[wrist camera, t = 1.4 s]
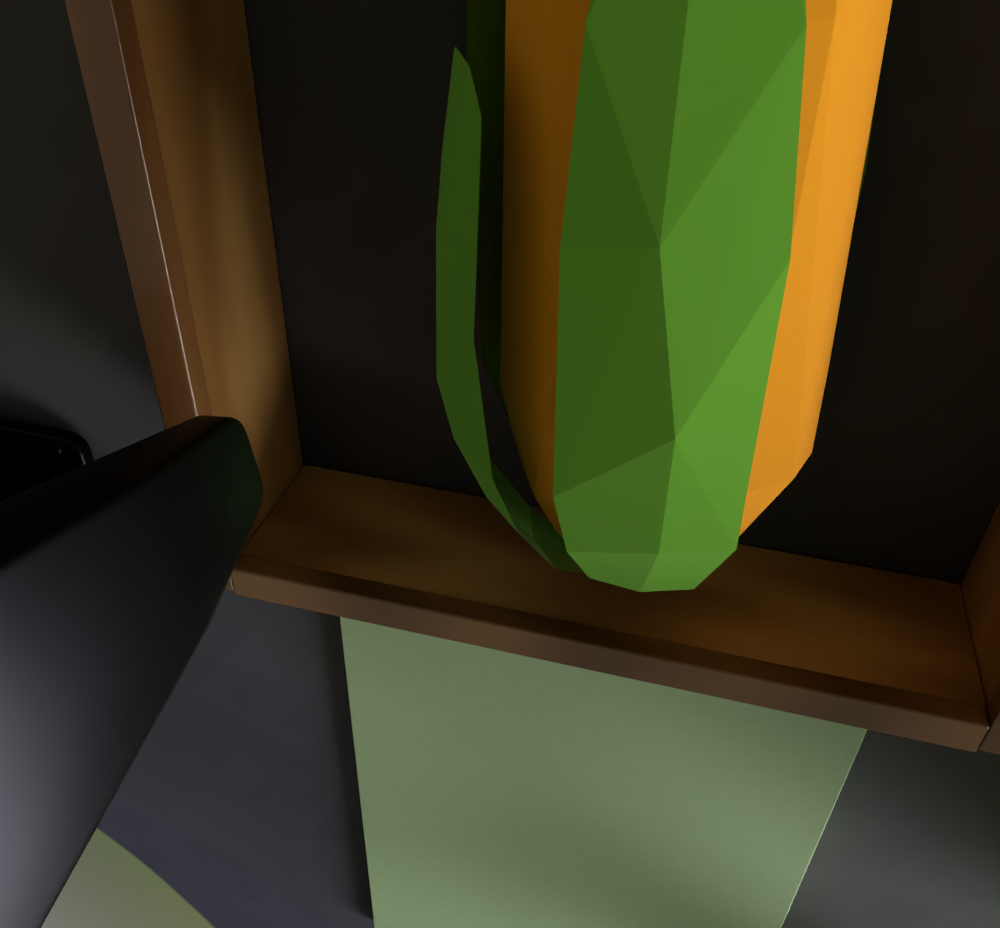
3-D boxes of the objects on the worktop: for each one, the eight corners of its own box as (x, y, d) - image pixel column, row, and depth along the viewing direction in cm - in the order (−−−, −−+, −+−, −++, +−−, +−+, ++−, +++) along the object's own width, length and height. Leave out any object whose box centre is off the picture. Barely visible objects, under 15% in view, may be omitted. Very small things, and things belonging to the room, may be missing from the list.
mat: (378, 923, 41) (374, 934, 41) (336, 522, 27) (329, 532, 26) (735, 1022, 38) (734, 1035, 38) (903, 631, 24) (904, 645, 23)
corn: (416, 677, 17) (160, -1429, 6) (488, 453, 23) (438, -794, 12) (812, 727, 16) (1517, -1799, 5) (782, 477, 22) (1050, -881, 11)
